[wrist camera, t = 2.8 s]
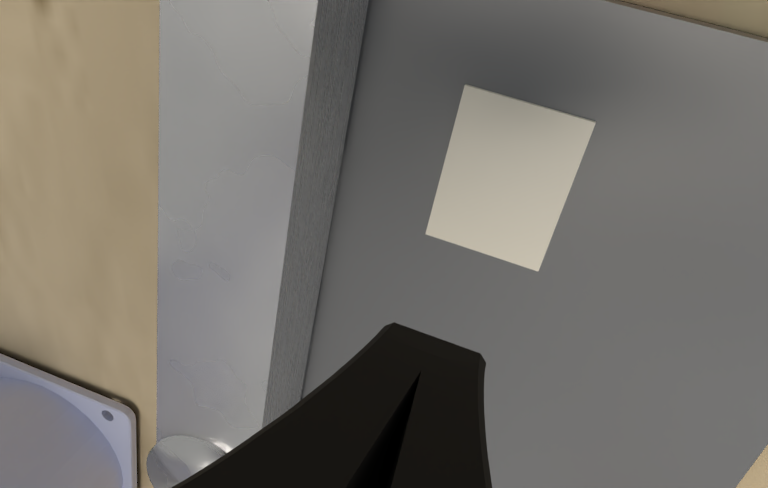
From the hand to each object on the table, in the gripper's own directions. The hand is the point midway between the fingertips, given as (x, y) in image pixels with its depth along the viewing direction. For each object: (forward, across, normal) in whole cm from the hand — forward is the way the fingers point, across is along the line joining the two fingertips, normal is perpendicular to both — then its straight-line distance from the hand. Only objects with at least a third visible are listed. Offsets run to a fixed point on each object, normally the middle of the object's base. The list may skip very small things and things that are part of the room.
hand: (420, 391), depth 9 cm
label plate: (+8, 0, +4) cm, 9 cm away
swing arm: (+7, +6, +4) cm, 10 cm away
